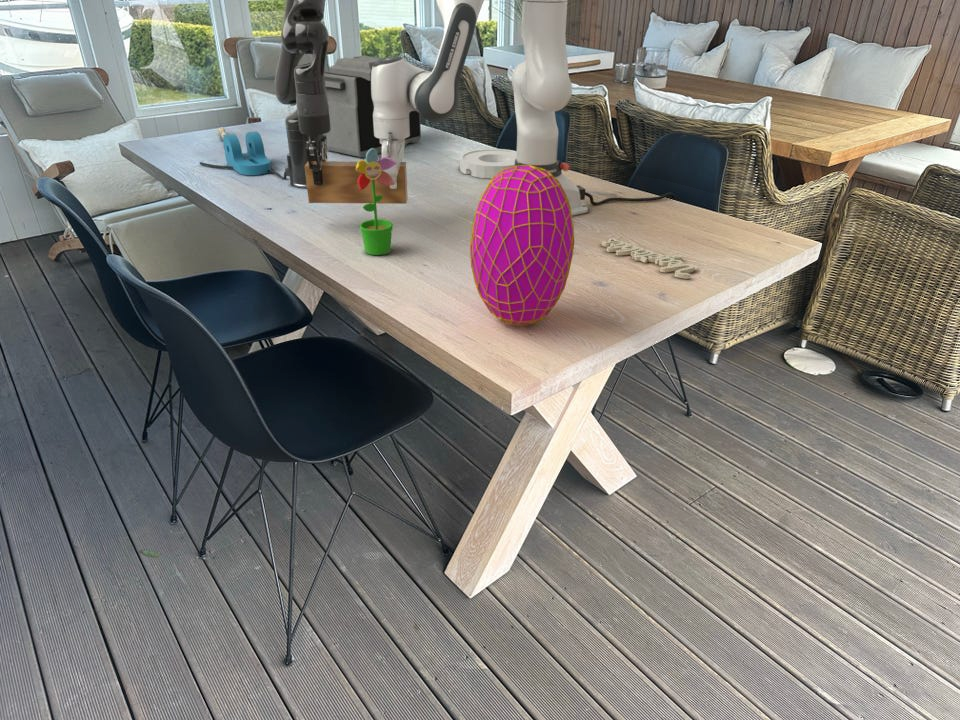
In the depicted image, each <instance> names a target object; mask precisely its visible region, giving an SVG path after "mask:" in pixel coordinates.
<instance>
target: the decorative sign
mask: <svg viewBox="0 0 960 720" xmlns="http://www.w3.org/2000/svg"><path fill="white" fill-rule="evenodd" d="M601 246H602V247H604V248H605V247H606V252H607V253H615V255H616V256H628V255H630V256H631V259H632V260H634V261H635V262H642V263H644V264H646V263H648V262H649V263H654V264H655V265H659V266H660V270H659V271H660V272H661V273H670V272H671V273H672V272H674V277H676V278H679V279H685V280H686V279H687V280H689V279H690V278H691V273H693V272H694V271H695V270H696V269H695V268H696V266H695V264H692V263H684V261H683V260H682V259H683V258H682V257H683V256H682V255H681V254H672V255H664V254H662V253H659V252H658V253H656V252H655V251H653V250H650V249H645V248H644V247H642V246H641V247H640V246H637V245H635V244H630V242H626V241H623V240H618V239H617V238H613V237H612V238H608V240H607V241H606V240H602V242H601Z"/></svg>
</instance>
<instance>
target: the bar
mask: <svg viewBox="0 0 960 720" xmlns="http://www.w3.org/2000/svg"><path fill="white" fill-rule="evenodd" d="M357 163H358V161H337V160H336V161H331V160H329V161H327V160H326V161H322V176H323V184H322V185H315V184H314V179H313V170H311V169H310V168H309V162H307V163H306V165H305V174H306V182H307V188H306V190H307V199H308V204H373V191H372V180H370V183H369V184H368V186H367V187H366V188H365V189H363V190H360V188H359V186H358V183H357V181H358V178H359V176H360V175H361V174H362V173H359V172H357V171H356V166H357ZM314 164H317V162H316V161H314ZM407 174H408V173H407V162H406V161H402V162H401V165H400V169H399V172H398V175H397V188H396V189H391V188H390V185H389V186H388V185H383V184H381V183H379V182H378V181H377V179H376V180H375V194H376V196H378V195H381V196H383V198H382V199H381V200H380V201H379V202H376V204H391V205H392V204H393V205H394V204H397V205H398V204H401V205H403V204H404V205H405V204H407V202H408V177H407Z"/></svg>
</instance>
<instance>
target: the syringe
mask: <svg viewBox="0 0 960 720" xmlns="http://www.w3.org/2000/svg"><path fill="white" fill-rule="evenodd" d="M218 134H219V140H220V141H221V142H223V137H224V135H229V134H228V133H227V132H226V129H225V128H224V127H219V128H218Z"/></svg>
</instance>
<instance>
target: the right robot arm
mask: <svg viewBox="0 0 960 720" xmlns="http://www.w3.org/2000/svg"><path fill="white" fill-rule="evenodd" d="M435 1H436V5H437V9H438V11H439V13H440V15H441V18H442V21H443V37H442V40H441V43H440V47H439V50H438V54H437V56H436V60H435V63H434V66H433V69H432V71H430V70H427V69H423V68H421V67H418V66H416V65H414V64H413V63H410V62H409V61H408V60H406V59H405V58H404V57H403V56H399V55H392V56H385V57H381V58H382V59H379V60H378V61H376V62H375V63H374V65H373V67H372V72H371V96H372V101H373V104H374V111H373V126H374V136H375V137H376V138H379V139H380V144H382V152H381V158H385V157H388V158H391V159H392V160H394V161H395V162H396V164H395V165H394V166H392V167H391V168H389V169H386V170H382V171H385V172H386V173H388V174H389V175H390V176H391V178H392V179H393V181H394V183H395V184H394V185H390V188H391V189H396V188H397V175H398V172H399V169H400V165H401V162H403V159H404V156H405V138H407V137H409V136H410V124H409V113H410V112H411V111H417V112H419V113H420V116H422V118H424V119H425V120H426V121H428V122H431V123H436V124H437V123H443V122H445V121H447V120H449V119H450V118H451V117H452V116H453V115H454V114H455V113H456V111H457V109H458V107H459V102H460V83H461V82H460V81H461V76H462V73H463V70H464V67H465V63H466V60H467V58H468V57H467V56H468V53H469V50H470V47H471V44H472V40H473V36H474V33H475V29H476V26H477V22H478V18H479V15H480V12H481V10H482V7H483V4H484V1H485V0H435ZM521 2H522V5H521V6H522V7H521V31H520V36H521V41H522V44H523V52H524V59H525V60H524V61H522V62H520V63H518V64H517V66H515V68H514V69H513V71H512V74H511V82H510V83H511V87H512V91H513V102H514V112H515V120H516V151H517V156H516V159H515V166H516V165H532V166H536V167H539V168H542V169H545V170H547V171H549V172H550V173H551V174H552V175H553V176H554V177H555V178H556V179H557V180H558V181H559V182H560V184H561V186H562V188H563V189H564V191H565V193H566V195H567V198H568V201H569V204H570V207H571V213H572V217H573V216H578V215H581V214H586V213H588V211H589V207H588V205H587V204H586V203H585V202H583V201H584V200H585V199H586V197H587V198H588V199H589V202H590V204H591V205H593V206H600V205H603V204H606V203H608V202H609V203H610V202H653V201H659V200H663V199H665V198H667V197H671V198H673V199H676V198H677V196H676V195H675V194H674V193H673V192H666V193H664V194H662V195H660V196H653V197H642V198H641V197H636V198H635V197H608V198H605V199H602V200H601V201H599V202H598V201H597V202H596V201H594V197H593V195H592V194H591V193H589V192H586V191H587V190H586V188H584V187H583V186H582V185H579V184H578V185H576V184H575V183H574V182H573V181H571V180H570V179H569V178H568V177H567V176H565V175H564V174H563V173H562V172H568V171H569V169H570V165H569V163H567V162H561V161H560V160H558V146H559V128H558V124H557V119H556V112H559V111H561V110H562V109H564V108H565V107H566V106H567V105H568V104H569V102H570V100H571V98H572V94H573V85H572V84H573V83H572V82H571V78H570V74H569V63H568V61H569V60H568V52H567V39H566V37H567V36H566V35H567V18H568V17H567V15H568V2H569V1H568V0H522V1H521Z"/></svg>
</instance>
